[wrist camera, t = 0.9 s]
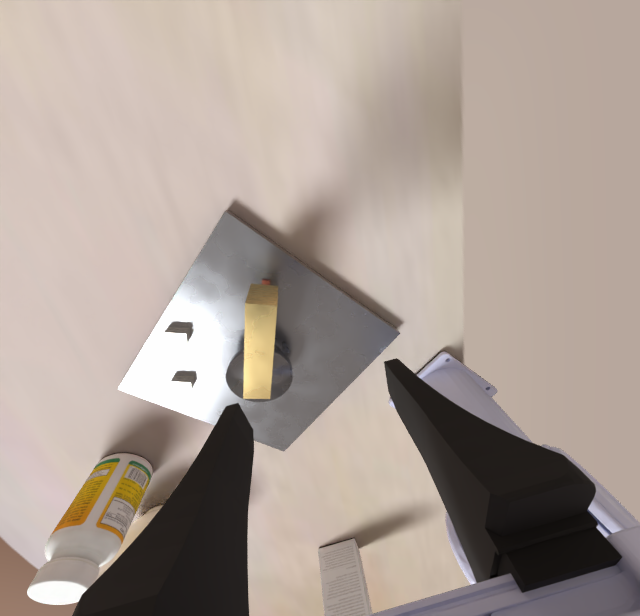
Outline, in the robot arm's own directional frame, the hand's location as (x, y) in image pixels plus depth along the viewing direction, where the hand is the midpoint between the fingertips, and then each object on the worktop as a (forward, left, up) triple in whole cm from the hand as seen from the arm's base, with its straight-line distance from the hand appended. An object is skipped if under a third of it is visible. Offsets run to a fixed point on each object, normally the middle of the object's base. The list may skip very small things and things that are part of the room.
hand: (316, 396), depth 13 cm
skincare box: (-30, +31, -11) cm, 45 cm away
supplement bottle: (+4, +26, -11) cm, 29 cm away
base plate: (0, +6, -10) cm, 12 cm away
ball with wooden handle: (+1, +4, -8) cm, 9 cm away
